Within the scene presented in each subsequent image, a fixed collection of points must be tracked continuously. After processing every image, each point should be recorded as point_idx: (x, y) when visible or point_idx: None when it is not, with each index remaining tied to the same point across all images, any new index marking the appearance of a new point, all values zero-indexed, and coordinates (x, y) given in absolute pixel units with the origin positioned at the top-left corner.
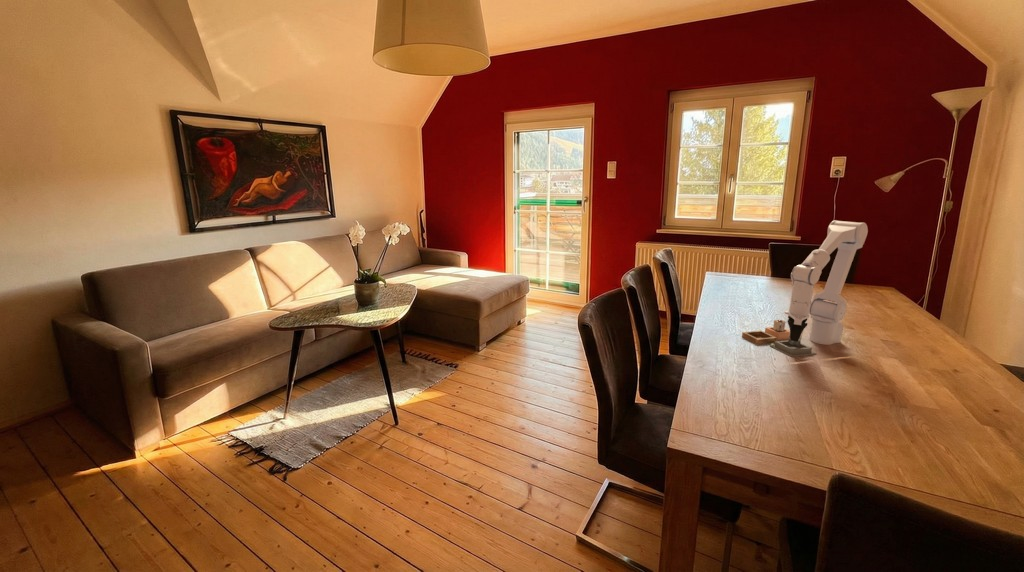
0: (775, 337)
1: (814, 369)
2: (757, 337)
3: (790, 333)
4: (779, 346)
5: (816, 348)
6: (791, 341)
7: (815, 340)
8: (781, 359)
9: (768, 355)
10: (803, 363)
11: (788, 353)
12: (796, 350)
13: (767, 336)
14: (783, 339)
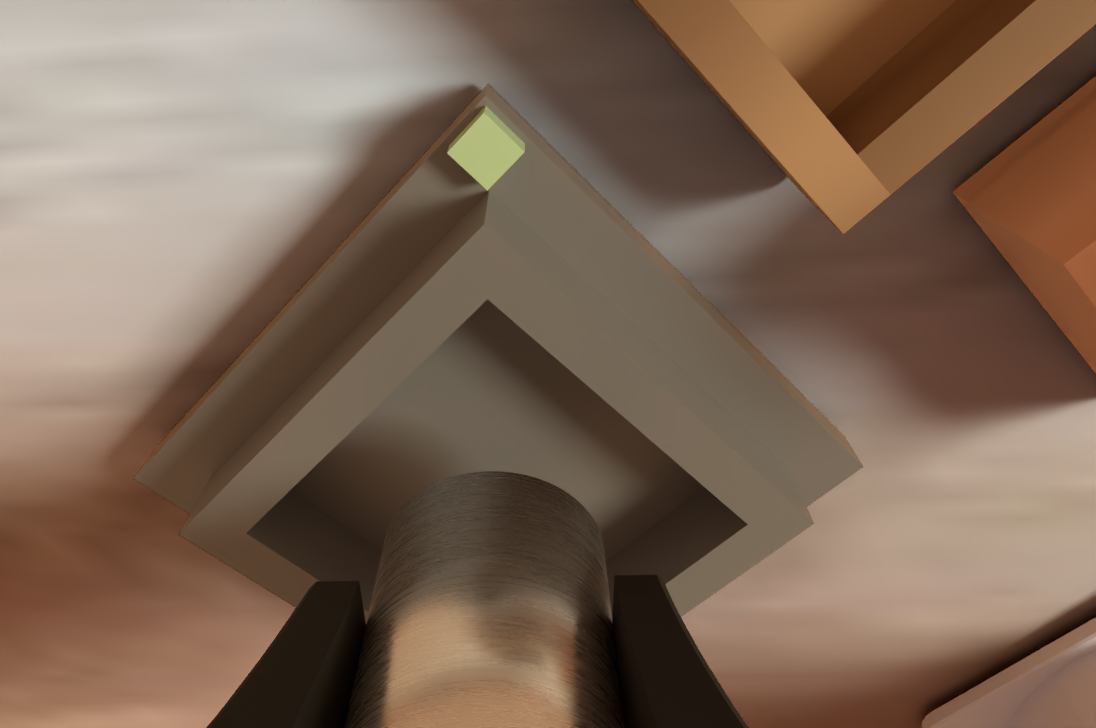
0: (854, 205)
1: (5, 667)
2: None
3: (211, 722)
4: (399, 294)
5: (864, 677)
6: (382, 564)
7: (1067, 717)
8: (22, 313)
9: (37, 92)
10: (119, 569)
11: (213, 428)
12: (257, 566)
13: (995, 3)
14: (1052, 312)
